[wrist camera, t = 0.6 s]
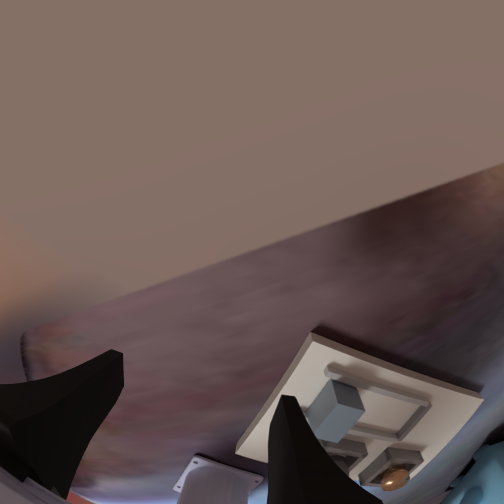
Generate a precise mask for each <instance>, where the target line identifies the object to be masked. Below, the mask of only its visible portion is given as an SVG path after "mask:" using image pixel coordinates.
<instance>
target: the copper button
mask: <svg viewBox="0 0 504 504" xmlns="http://www.w3.org/2000/svg"><path fill="white" fill-rule="evenodd" d="M379 480H380V483H381V486H382V489H383V490H384V491H393V490H396V489H399V488H401V487H402V486H404V485H405V484H407V483H408V481H409V480H410V476H409V473H408V471H407V468H406V466H405V465H403V464H399V465H394V466H392V467H389V468H387V469H386V470H384V471H383V472H382V473H381V474H380V476H379Z"/></svg>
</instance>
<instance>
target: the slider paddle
mask: <svg viewBox="0 0 504 504" xmlns="http://www.w3.org/2000/svg"><path fill="white" fill-rule="evenodd" d="M364 413H365V408H364V406H363V403H362V400H361V398H360V395H359V393H358V390H357V387H354V386H351V385H348V384H345V383H342V382H339V381H336V380H333V379H330V381H329V382H328V384H327V385H326V386H325V388H324V389H323V391H322V392H321V393H320V395H319V396H318V397H317V399H316V400H315V401H314V403H313V404H312V405H311V407H310V408H309V409H308V411H307V414H308V422H309V425H310V427H311V429H312V431H313V432H314V434H315V436H316V437H317V438H318V439H322V440H326V441H330V442H335V443H338V442H339V441H340V440H341V439H342V438H343V437H344V436H345V435H346V433H347V432H348V431H349V430H350V429H351V428H352V427H353V426H354V424H355V423H356V422H357V421H358V420H359V419H360V417H361V416H362V415H363V414H364Z"/></svg>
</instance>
